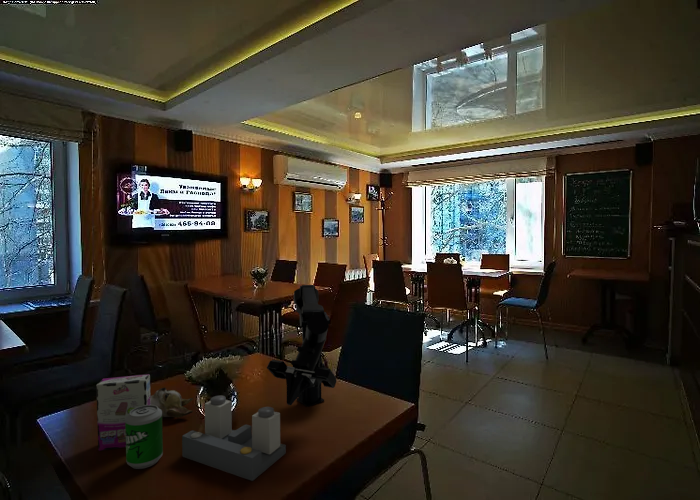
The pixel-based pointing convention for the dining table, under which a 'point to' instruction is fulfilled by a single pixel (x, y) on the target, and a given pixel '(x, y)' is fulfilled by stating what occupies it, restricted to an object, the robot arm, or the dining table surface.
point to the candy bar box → (118, 407)
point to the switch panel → (230, 452)
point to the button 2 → (266, 430)
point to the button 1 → (218, 417)
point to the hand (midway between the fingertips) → (288, 404)
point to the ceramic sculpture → (170, 403)
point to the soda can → (144, 436)
